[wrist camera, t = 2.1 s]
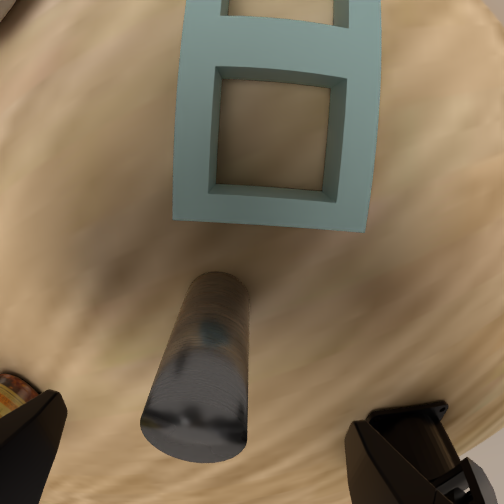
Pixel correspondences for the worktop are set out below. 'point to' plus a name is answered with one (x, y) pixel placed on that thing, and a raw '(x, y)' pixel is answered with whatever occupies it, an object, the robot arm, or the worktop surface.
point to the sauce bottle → (14, 393)
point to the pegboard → (287, 71)
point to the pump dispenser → (5, 7)
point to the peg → (203, 375)
